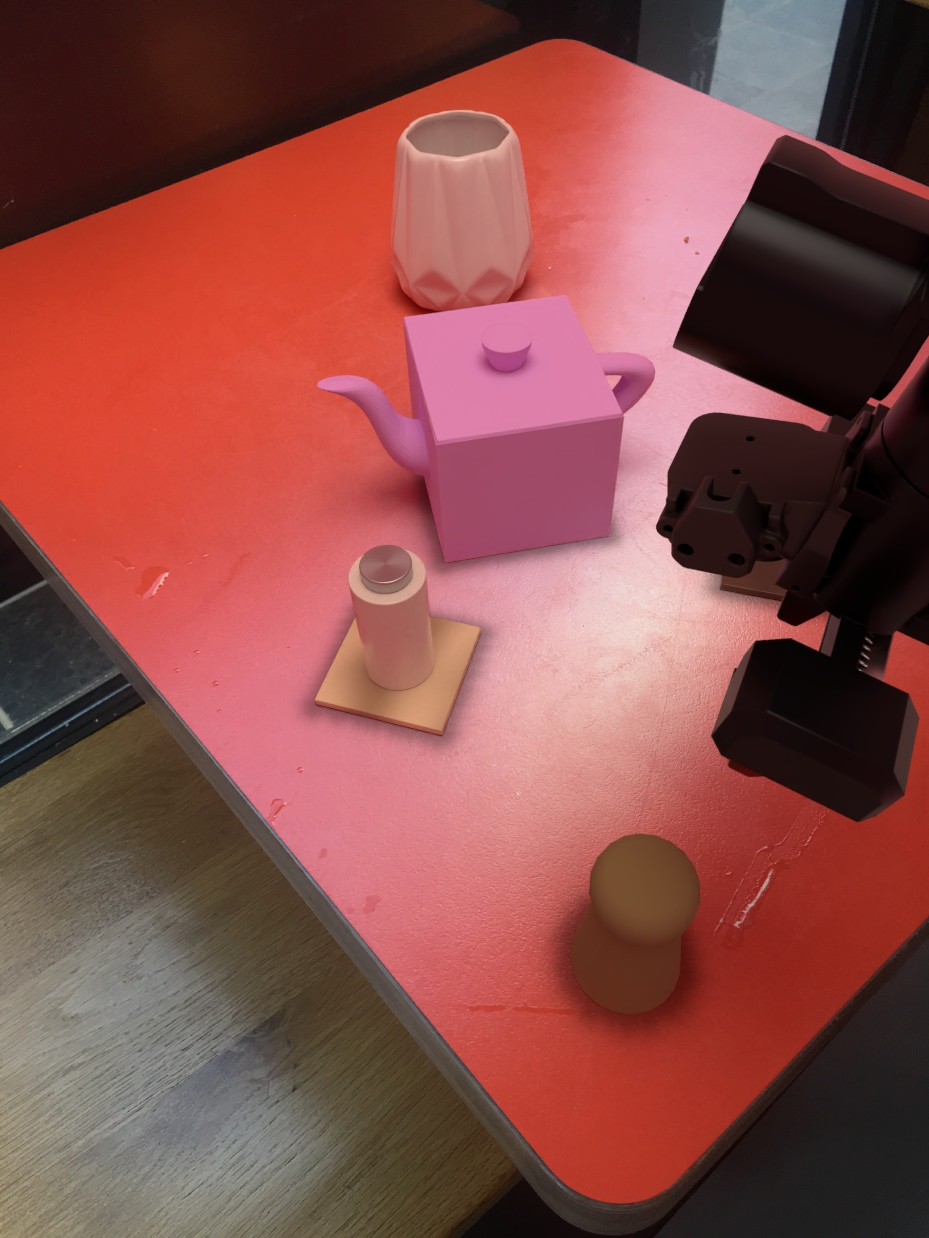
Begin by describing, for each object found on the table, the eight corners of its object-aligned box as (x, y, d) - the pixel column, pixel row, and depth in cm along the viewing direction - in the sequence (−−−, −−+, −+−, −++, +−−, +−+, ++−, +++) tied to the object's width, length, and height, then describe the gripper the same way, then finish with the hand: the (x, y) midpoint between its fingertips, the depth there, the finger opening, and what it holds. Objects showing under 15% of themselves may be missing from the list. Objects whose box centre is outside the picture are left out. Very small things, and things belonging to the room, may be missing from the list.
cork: (650, 890, 54) (678, 798, 45) (700, 992, 50) (740, 912, 41) (553, 924, 52) (562, 836, 44) (596, 1030, 49) (615, 957, 40)
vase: (497, 238, 100) (496, 88, 89) (556, 304, 92) (564, 147, 80) (375, 270, 97) (357, 118, 86) (425, 340, 89) (413, 183, 77)
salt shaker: (448, 652, 64) (440, 553, 56) (409, 701, 62) (395, 604, 54) (391, 625, 66) (376, 525, 58) (351, 672, 63) (329, 573, 56)
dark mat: (843, 530, 71) (846, 524, 71) (840, 611, 66) (842, 606, 66) (732, 511, 73) (733, 506, 72) (720, 589, 68) (721, 584, 67)
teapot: (331, 449, 79) (303, 301, 68) (614, 406, 82) (631, 257, 71) (351, 578, 70) (322, 431, 59) (670, 525, 72) (699, 375, 61)
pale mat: (481, 632, 66) (481, 626, 66) (442, 735, 61) (441, 730, 60) (363, 606, 68) (362, 601, 68) (315, 704, 63) (314, 699, 62)
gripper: (798, 229, 37) (665, 491, 50) (653, 541, 26) (532, 771, 39) (1070, 342, 35) (862, 581, 48) (1032, 717, 25) (778, 896, 38)
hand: (763, 690), depth 43 cm, fingers open, 9 cm apart
